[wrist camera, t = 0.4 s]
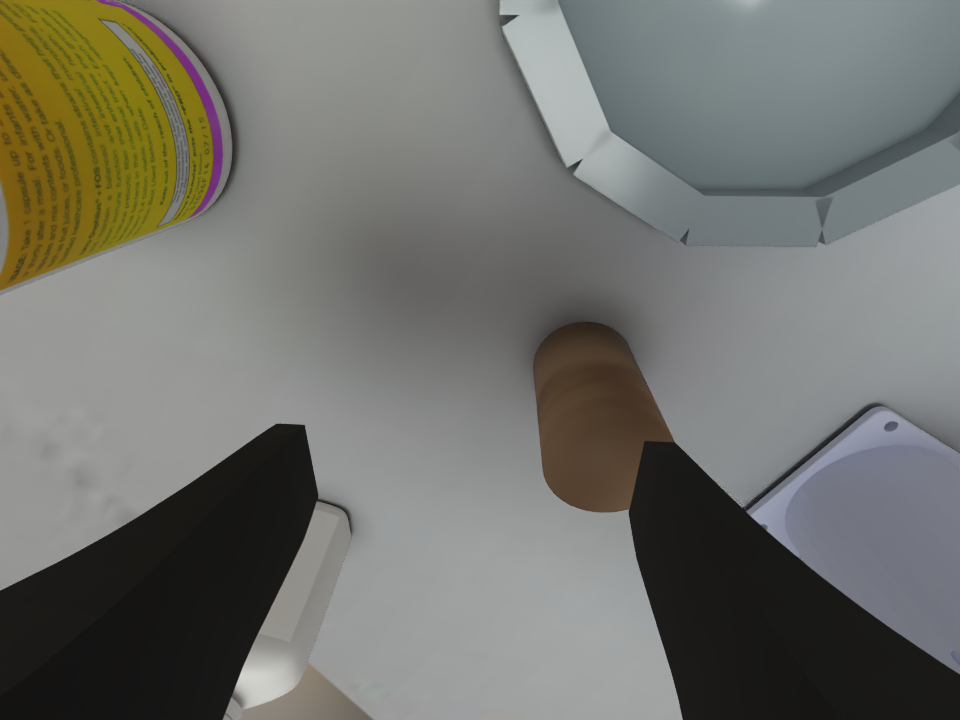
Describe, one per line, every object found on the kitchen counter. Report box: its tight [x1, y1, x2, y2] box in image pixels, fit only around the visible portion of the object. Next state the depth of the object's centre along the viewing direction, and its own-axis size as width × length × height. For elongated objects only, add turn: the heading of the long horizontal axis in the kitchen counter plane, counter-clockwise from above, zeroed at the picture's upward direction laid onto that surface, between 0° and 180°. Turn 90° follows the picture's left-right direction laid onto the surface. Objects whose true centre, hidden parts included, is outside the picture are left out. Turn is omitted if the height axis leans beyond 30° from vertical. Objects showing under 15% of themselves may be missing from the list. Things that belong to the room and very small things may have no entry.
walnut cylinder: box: [533, 322, 674, 512], centre depth 17 cm, size 4×4×6 cm
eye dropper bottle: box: [223, 501, 351, 720], centre depth 20 cm, size 4×6×12 cm
